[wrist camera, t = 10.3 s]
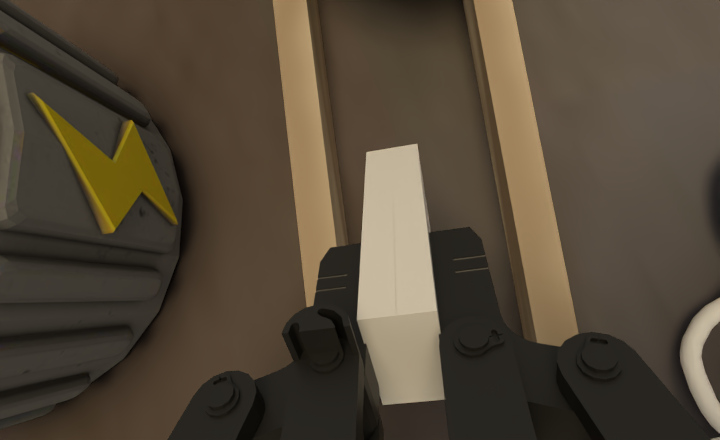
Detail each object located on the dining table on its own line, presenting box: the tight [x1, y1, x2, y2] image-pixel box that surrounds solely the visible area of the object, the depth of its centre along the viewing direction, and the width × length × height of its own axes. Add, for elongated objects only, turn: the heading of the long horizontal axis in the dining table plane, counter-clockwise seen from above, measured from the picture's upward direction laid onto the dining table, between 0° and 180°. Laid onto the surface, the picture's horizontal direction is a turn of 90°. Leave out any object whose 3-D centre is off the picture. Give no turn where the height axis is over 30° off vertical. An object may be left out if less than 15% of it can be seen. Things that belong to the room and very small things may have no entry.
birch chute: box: [273, 0, 579, 347], centre depth 21 cm, size 10×22×4 cm, turn 8°
